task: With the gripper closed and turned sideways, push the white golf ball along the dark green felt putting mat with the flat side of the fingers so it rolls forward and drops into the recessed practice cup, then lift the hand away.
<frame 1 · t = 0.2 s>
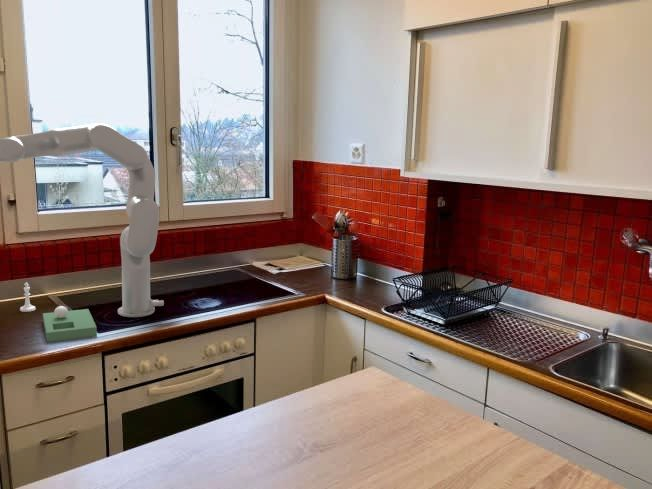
chess piece: (27, 310, 195), on the counter
ball: (61, 312, 179), point 5 cm above the counter, touching green
green: (69, 328, 178), on the counter
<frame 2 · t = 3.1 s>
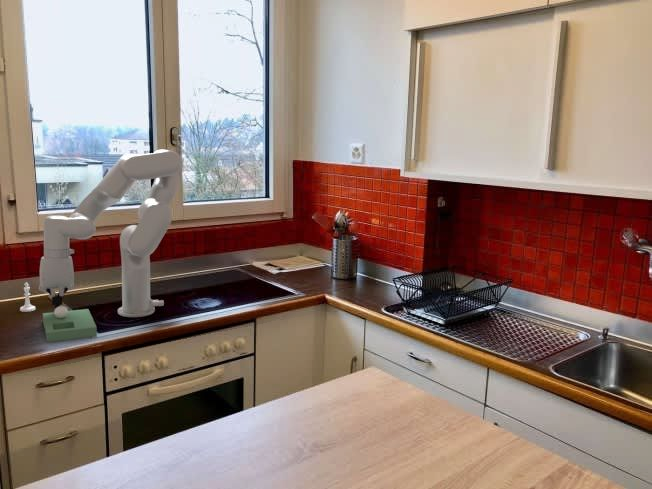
hand: (57, 306, 184), 5 cm above the counter, fingers closed
nothing on the counter moved.
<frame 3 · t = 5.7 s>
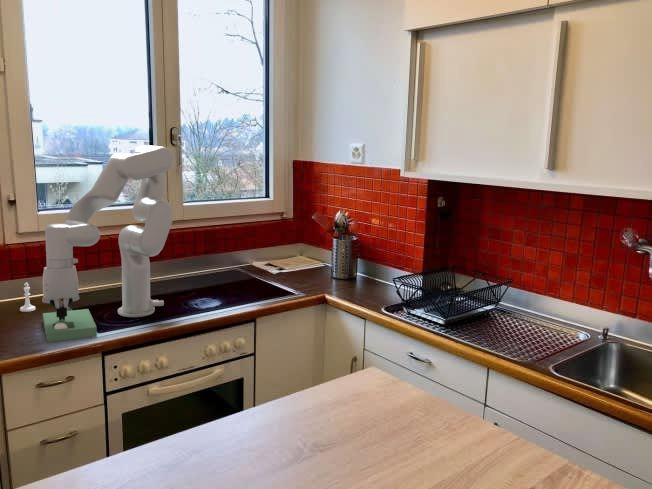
hand: (61, 318, 176), 4 cm above the counter, fingers closed
ball: (60, 329, 172), point 2 cm above the counter, tilted 88°, touching green
everything else where it was.
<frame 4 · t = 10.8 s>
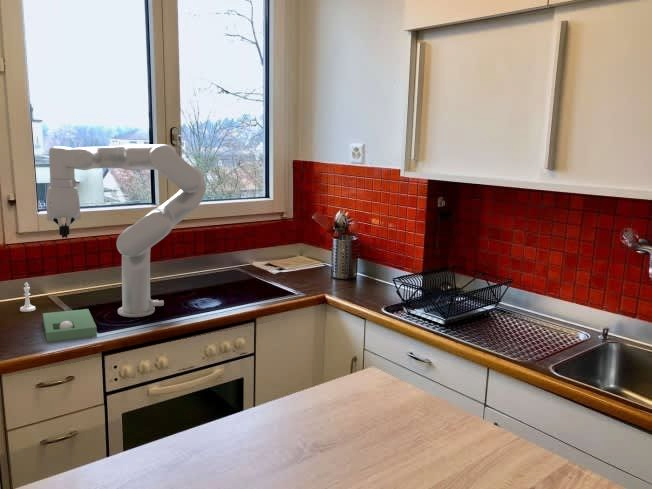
hand: (64, 237, 189), 27 cm above the counter, fingers closed
ball: (66, 327, 174), point 2 cm above the counter, tilted 120°, touching green
everything else where it was.
at the end: ball 1.0 cm from the target spot on the green, point 2.2 cm above the green's base; ball touching green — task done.
